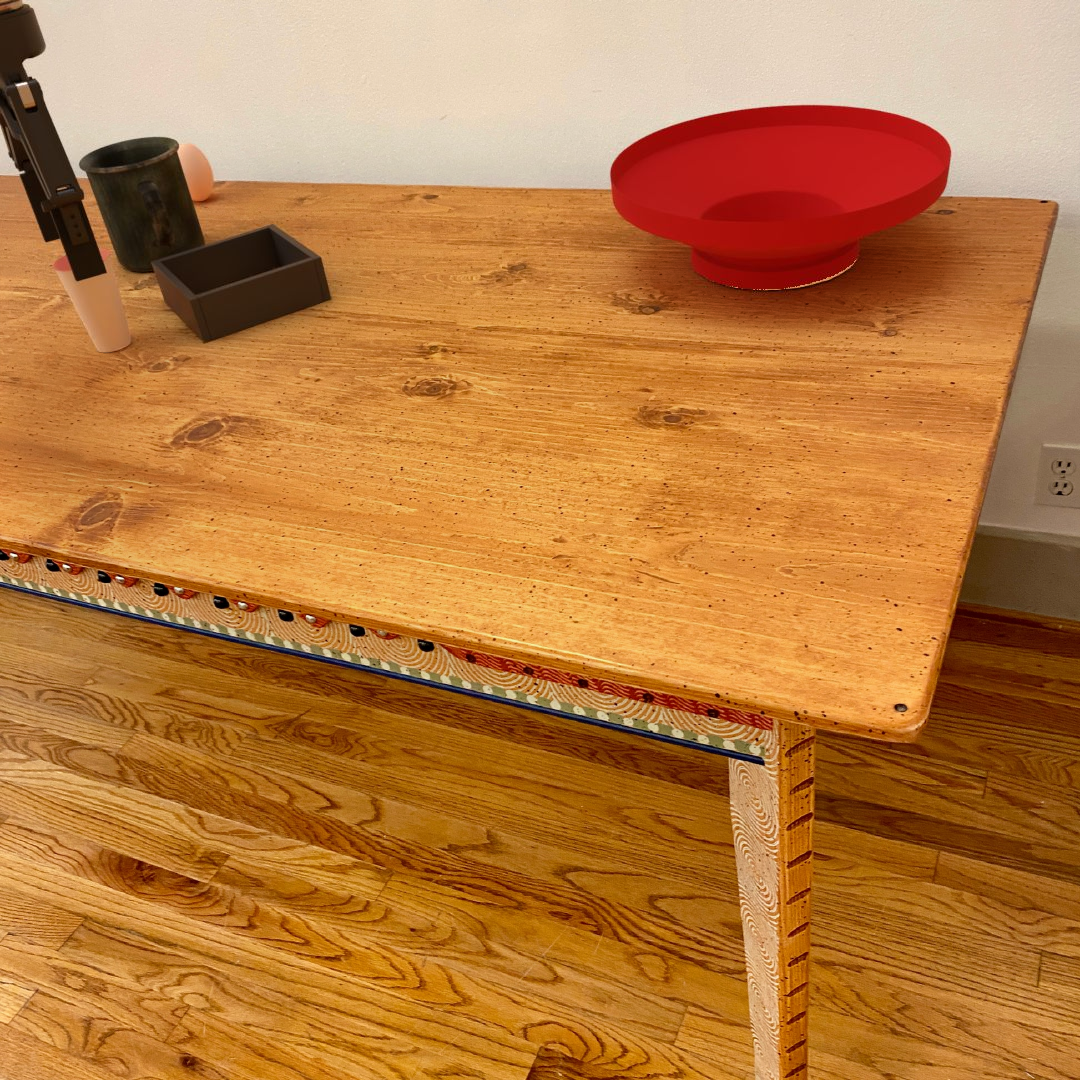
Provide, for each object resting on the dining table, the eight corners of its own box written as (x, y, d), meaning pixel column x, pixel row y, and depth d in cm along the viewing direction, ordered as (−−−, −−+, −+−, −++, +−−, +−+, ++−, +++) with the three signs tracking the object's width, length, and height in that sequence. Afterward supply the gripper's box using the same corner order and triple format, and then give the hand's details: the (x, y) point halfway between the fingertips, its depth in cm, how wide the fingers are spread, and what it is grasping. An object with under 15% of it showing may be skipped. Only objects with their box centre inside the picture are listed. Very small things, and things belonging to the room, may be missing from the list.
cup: (101, 362, 105) (53, 242, 98) (77, 348, 108) (30, 231, 101) (151, 340, 107) (108, 223, 100) (127, 327, 111) (84, 212, 104)
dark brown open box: (204, 343, 105) (189, 300, 103) (164, 301, 115) (150, 261, 112) (331, 298, 110) (321, 256, 108) (283, 263, 120) (272, 223, 118)
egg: (177, 207, 141) (158, 149, 136) (195, 194, 144) (178, 137, 140) (208, 206, 140) (190, 148, 135) (226, 193, 143) (209, 136, 139)
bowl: (680, 195, 122) (677, 103, 116) (965, 208, 110) (977, 105, 104) (567, 311, 101) (555, 206, 95) (903, 344, 89) (913, 225, 83)
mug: (197, 230, 132) (166, 129, 125) (228, 265, 122) (196, 157, 115) (108, 255, 129) (70, 153, 122) (132, 293, 118) (92, 184, 111)
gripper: (61, 15, 82) (149, 281, 94) (4, -13, 100) (84, 214, 112) (-43, 36, 79) (62, 307, 92) (-83, 3, 97) (9, 234, 109)
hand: (74, 256), depth 102 cm, fingers open, 13 cm apart
